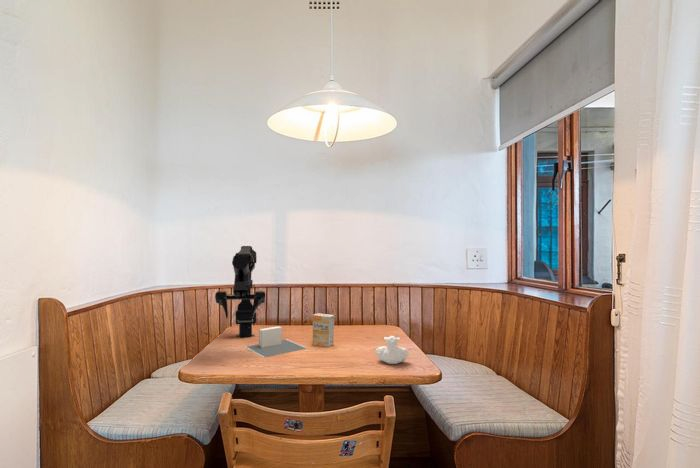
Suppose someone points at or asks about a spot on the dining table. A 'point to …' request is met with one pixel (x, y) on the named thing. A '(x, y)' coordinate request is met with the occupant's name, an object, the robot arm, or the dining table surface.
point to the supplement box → (323, 330)
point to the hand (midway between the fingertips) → (239, 318)
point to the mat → (276, 348)
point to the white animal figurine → (392, 351)
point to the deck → (270, 336)
